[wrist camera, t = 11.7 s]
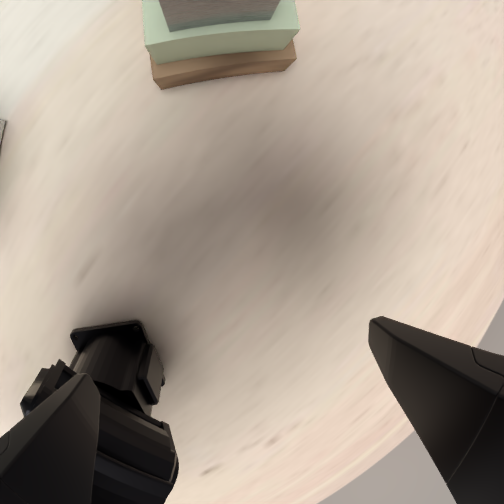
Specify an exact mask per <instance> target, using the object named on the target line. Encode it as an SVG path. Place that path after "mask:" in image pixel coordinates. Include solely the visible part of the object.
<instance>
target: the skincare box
mask: <svg viewBox="0 0 504 504" xmlns="http://www.w3.org/2000/svg"><path fill="white" fill-rule="evenodd" d="M4 125H5V121H4V120H1V119H0V143H1V138H2V133H3V129H4Z"/></svg>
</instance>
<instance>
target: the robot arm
mask: <svg viewBox="0 0 504 504" xmlns="http://www.w3.org/2000/svg"><path fill="white" fill-rule="evenodd" d="M134 326H137V327H138V328H139V329H136V328H134ZM75 335H77V336H78V337H76V336H75ZM70 337H71V340H72V342H73V344H74V346H75V348H76V350H77V353H76V355H75V357H74V359H73V361H72V362H71V364H70V366H69V367H67V366H66V365H65V364H66V363H64V362H63V361H61V360H60V359H59V360H58V362H57V364H56V365H55V366H54V365H53V364H52V366H51V368H50V369H46V368H42V369H41V371H40V372H39V374H38V376H37V377H36V379H35V381H34V382H33V384H32V386H31V387H30V388H29V390H28V391H27V393H26V394H25V396H24V397H23V399H22V401H21V403H20V406H21V409H22V412H23V415H24V418H23V419H22V420H21V421H20V422H18V423H17V424H16V425H15V426H14V427H12V428H11V429H10V431H8V432H6V433H5V434H4V435H3V436H2V437H1V438H0V504H164V503H165V500H166V498H167V497H168V495H169V494H170V492H171V490H172V489H173V486H174V484H175V482H176V479H177V475H178V470H179V462H178V457H177V454H176V450H175V446H174V443H173V439H172V435H171V431H170V427H169V424H167V423H165V422H163V421H161V422H160V421H158V420H156V419H154V418H152V417H151V411H152V405H157V404H158V402H159V397H160V390H161V387H162V386H164V384H165V378H164V376H163V367H162V364H161V362H160V359H159V357H158V354H157V352H156V349H155V347H154V345H152V344H150V342H149V340H148V337H147V335H146V332H145V330H144V327H143V325H142V323H141V322H140V321H129V322H122V323H116V324H110V325H103V326H97V327H90V328H83V329H76V330H73V331H72V332H71V334H70ZM368 342H369V346H370V349H371V351H372V353H373V355H374V357H375V359H376V361H377V364H378V366H379V368H380V370H381V372H382V374H383V376H384V379H385V381H386V383H387V384H388V386H389V388H390V390H391V391H392V393H393V394H394V396H395V398H396V399H397V401H398V402H399V404H400V406H401V407H402V409H403V411H404V412H405V414H406V416H407V417H408V419H409V421H410V422H411V424H412V426H413V427H414V429H415V431H416V432H417V434H418V435H419V437H420V439H421V441H422V442H423V444H424V446H425V448H426V449H427V451H428V452H429V454H430V456H431V457H432V460H433V461H434V463H435V465H436V467H437V468H438V470H439V472H440V474H441V475H442V477H443V479H444V481H445V482H446V483H447V484H446V485H447V487H448V488H449V490H450V492H451V494H452V495H453V497H454V499H455V501H456V503H457V504H504V356H503V355H499V354H495V353H491V352H488V351H485V350H481V349H478V348H475V347H471V346H469V345H466V344H463V343H460V342H457V341H454V340H451V339H448V338H445V337H442V336H439V335H436V334H433V333H430V332H427V331H424V330H421V329H419V328H416V327H413V326H410V325H407V324H404V323H401V322H398V321H395V320H392V319H389V318H386V317H383V316H380V317H376V318H373V319H371V320H370V322H369V338H368Z"/></svg>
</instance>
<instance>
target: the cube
mask: <svg viewBox="0 0 504 504" xmlns="http://www.w3.org/2000/svg"><path fill="white" fill-rule="evenodd" d="M279 2H280V0H159V3H160V6H161V9H162V12H163V15H164V17H165V20H166V23H167V26H168V29H169V32H174V31H179V30H184V29H190V28H196V27H203V26H210V25H217V24H226V23H235V22H247V21H262V20H270V19H271V17H272V16H273V14H274V12H275V10H276V8H277V6H278V4H279Z"/></svg>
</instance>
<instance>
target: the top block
mask: <svg viewBox="0 0 504 504" xmlns="http://www.w3.org/2000/svg"><path fill="white" fill-rule="evenodd" d="M142 8H143V26H144V41H145V47H146V48H147V50H148V51H149V53H150V55H151V56H152V58H153V59H154V61H155V63H156V64H157V65H159V64H163V63H169V62H174V61H179V60H185V59H191V58H198V57H205V56H212V55H221V54H230V53H240V52H253V51H270V50H284V48H285V47H286V46H287V45H288V43H289V42H290V41H291V40H292V39H293V37H294V36H295V35H296V34H297V33H298V31H299V30H300V26H299V21H298V15H297V10H296V5H295V0H280V2H279V4H278V6H277V8H276V10H275V12H274V14H273V16H272V17H271V19H270V20H262V21H247V22H235V23H226V24H217V25H210V26H203V27H196V28H190V29H184V30H179V31H174V32H169V29H168V26H167V23H166V20H165V17H164V15H163V12H162V9H161V6H160V3H159V0H142Z"/></svg>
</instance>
